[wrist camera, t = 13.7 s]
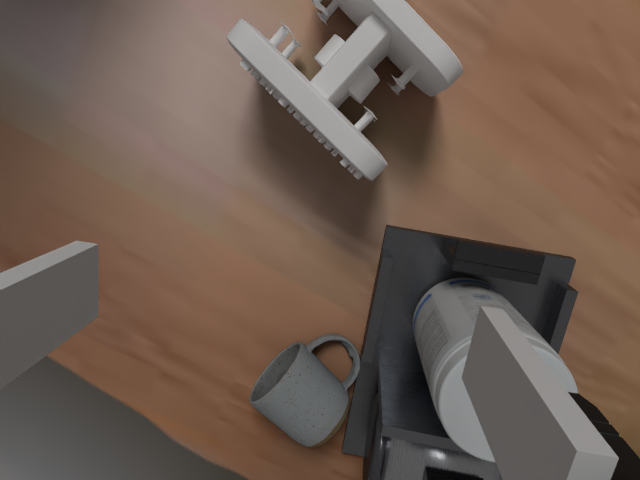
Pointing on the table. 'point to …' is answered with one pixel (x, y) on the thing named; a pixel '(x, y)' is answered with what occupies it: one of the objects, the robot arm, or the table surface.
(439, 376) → the supplement tub
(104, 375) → the table surface
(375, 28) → the cable organizer
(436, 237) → the motor clip
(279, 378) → the ceramic mug
